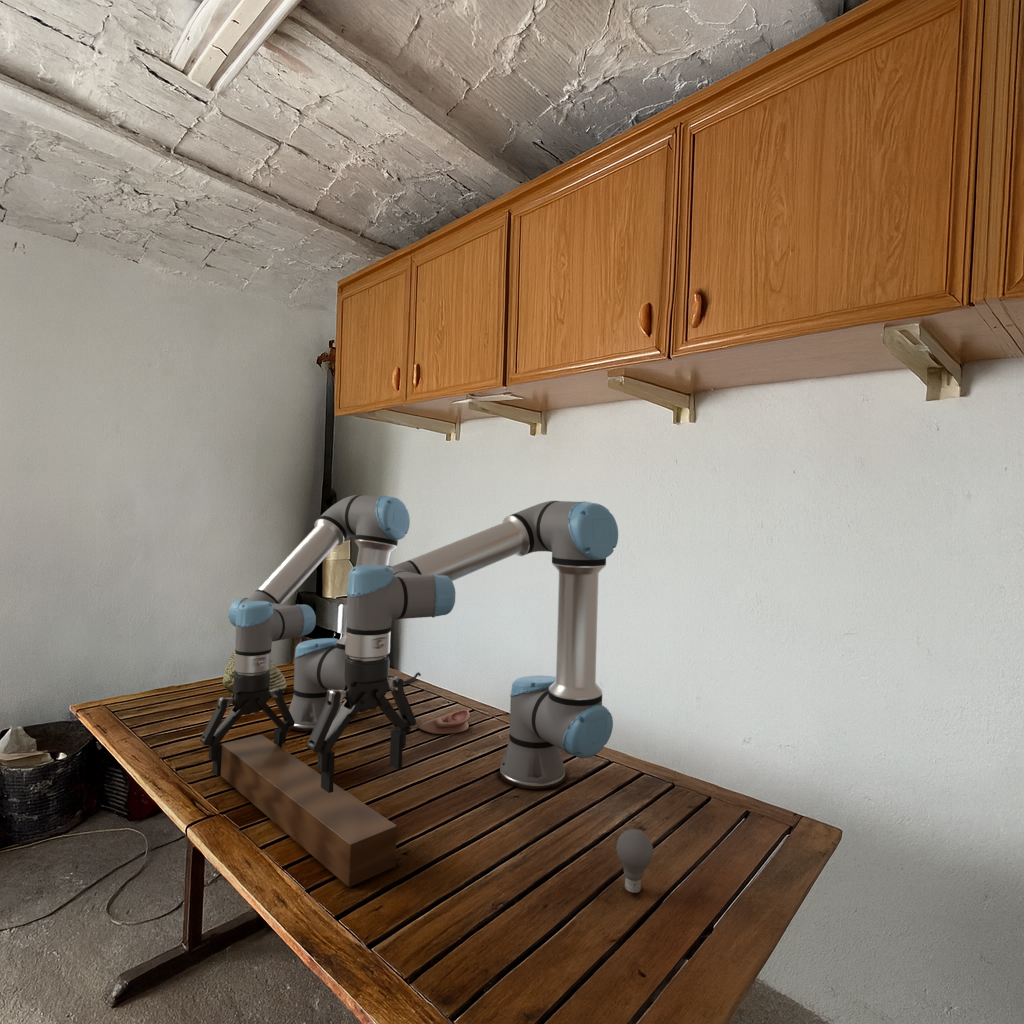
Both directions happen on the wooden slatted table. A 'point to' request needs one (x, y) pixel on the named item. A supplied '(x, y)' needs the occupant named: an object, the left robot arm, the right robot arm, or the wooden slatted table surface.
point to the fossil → (275, 673)
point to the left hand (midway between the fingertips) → (247, 766)
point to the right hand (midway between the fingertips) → (362, 778)
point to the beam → (311, 809)
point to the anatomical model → (447, 723)
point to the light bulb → (634, 857)
